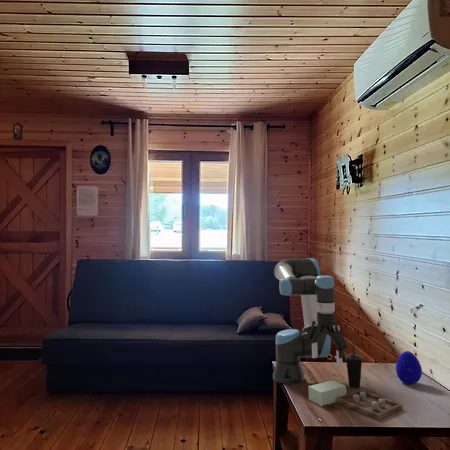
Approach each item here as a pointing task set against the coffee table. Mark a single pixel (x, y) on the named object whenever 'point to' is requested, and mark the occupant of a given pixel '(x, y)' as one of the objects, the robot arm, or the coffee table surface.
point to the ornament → (408, 368)
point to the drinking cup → (354, 369)
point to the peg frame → (370, 404)
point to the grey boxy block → (326, 392)
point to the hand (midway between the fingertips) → (326, 361)
